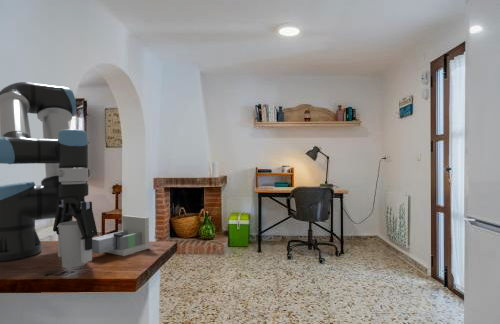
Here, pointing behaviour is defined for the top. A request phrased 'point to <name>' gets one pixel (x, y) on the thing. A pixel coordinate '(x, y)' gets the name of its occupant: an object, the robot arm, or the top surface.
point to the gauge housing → (132, 235)
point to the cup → (70, 244)
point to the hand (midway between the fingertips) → (74, 258)
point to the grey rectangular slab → (105, 243)
